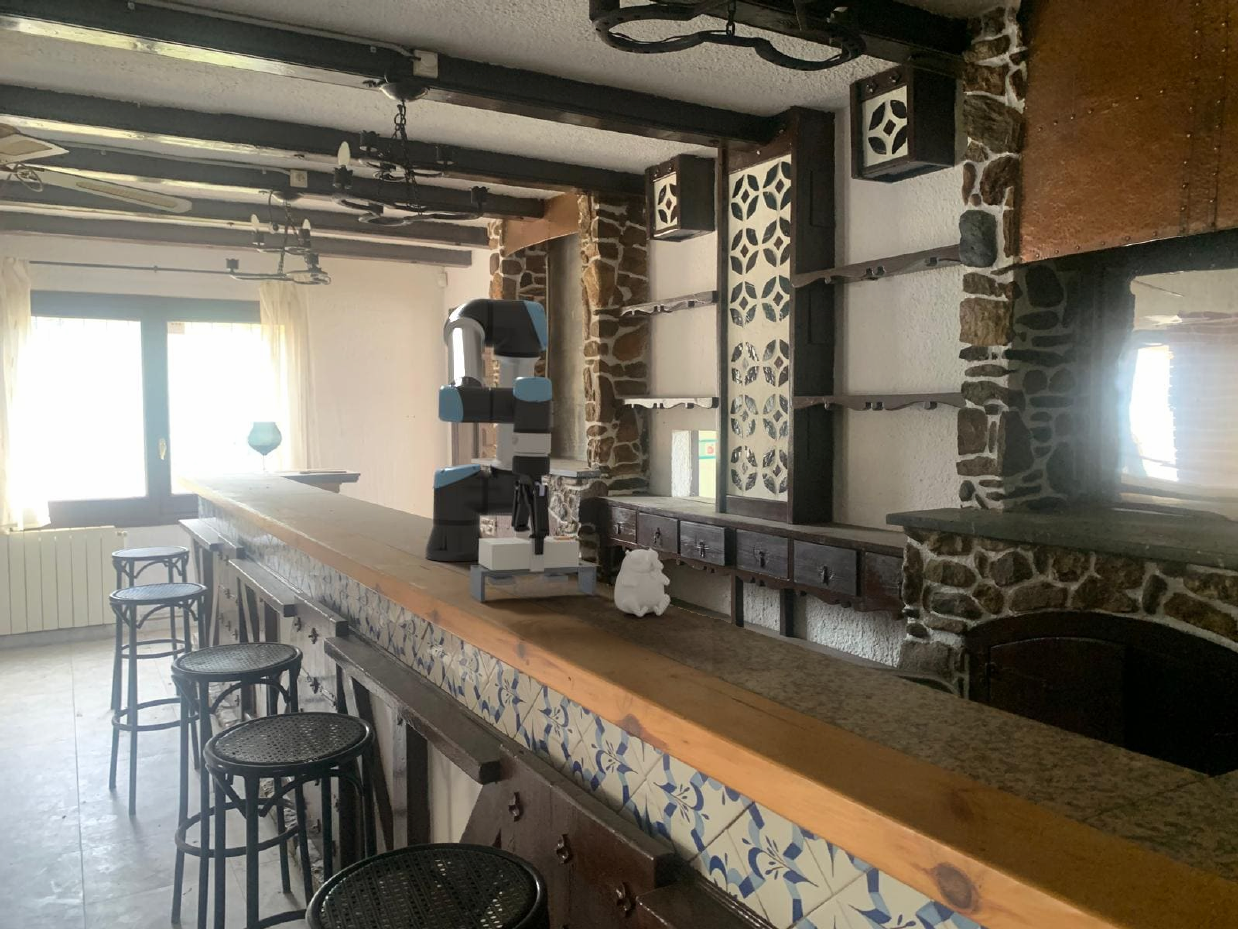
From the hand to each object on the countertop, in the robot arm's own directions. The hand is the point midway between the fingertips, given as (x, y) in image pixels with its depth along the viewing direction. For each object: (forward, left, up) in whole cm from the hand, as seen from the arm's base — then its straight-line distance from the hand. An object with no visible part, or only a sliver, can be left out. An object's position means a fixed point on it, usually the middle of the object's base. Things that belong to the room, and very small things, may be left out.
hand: (528, 567), depth 185 cm
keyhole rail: (0, +1, -6) cm, 6 cm away
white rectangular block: (0, 0, -3) cm, 3 cm away
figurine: (+22, +14, -6) cm, 27 cm away
